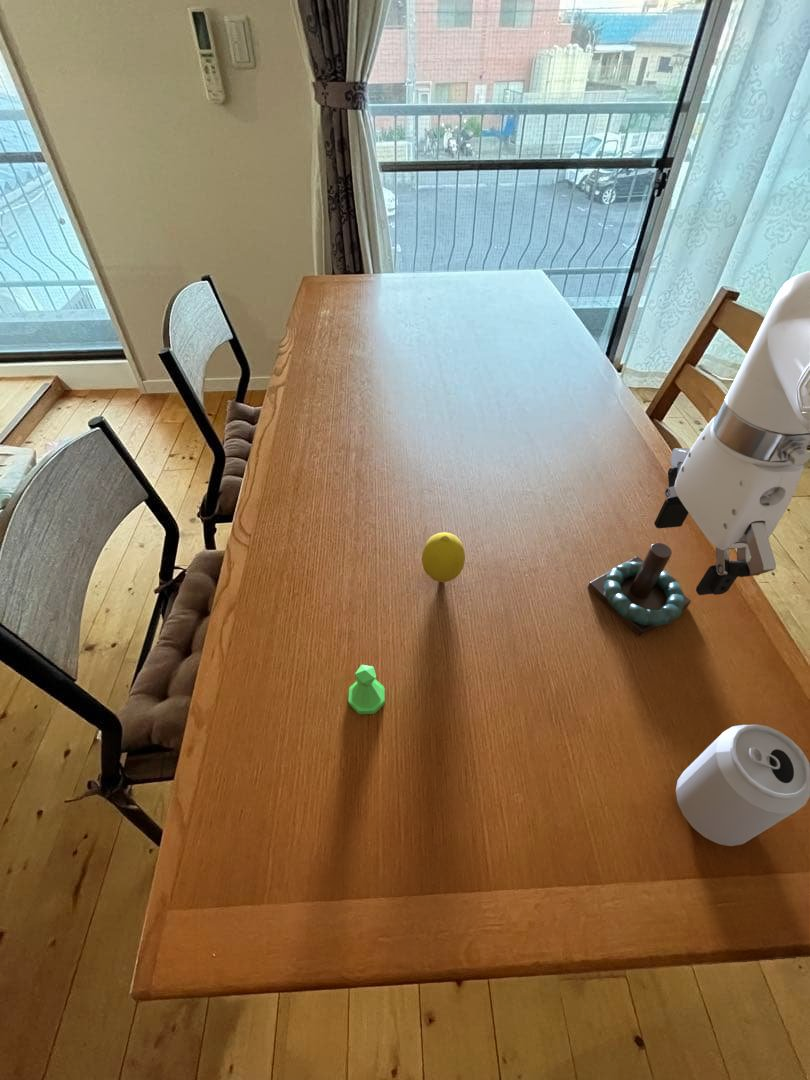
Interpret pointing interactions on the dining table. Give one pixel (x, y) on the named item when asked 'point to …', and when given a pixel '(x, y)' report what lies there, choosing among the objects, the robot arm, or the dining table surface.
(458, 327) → the dining table surface
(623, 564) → the ring
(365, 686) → the game piece
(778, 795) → the can
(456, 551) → the lemon
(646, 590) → the post
